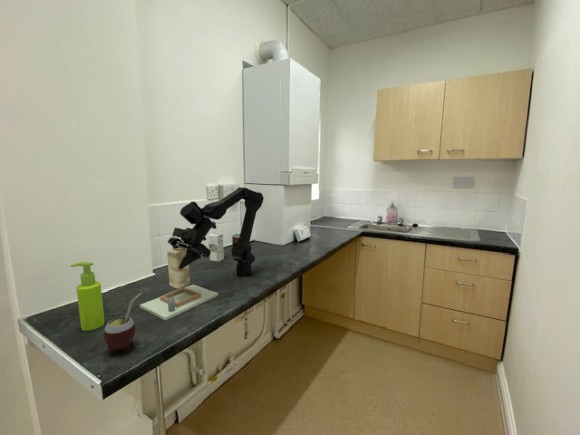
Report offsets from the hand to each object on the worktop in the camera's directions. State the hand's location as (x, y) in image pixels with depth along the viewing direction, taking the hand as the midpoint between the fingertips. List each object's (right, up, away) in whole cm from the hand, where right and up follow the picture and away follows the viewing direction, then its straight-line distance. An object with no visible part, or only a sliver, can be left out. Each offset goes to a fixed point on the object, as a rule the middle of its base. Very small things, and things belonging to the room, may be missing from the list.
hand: (175, 267), depth 98 cm
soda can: (+12, -4, +60) cm, 61 cm away
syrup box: (+1, -6, +52) cm, 52 cm away
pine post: (+1, -7, +2) cm, 7 cm away
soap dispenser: (-20, -16, -13) cm, 29 cm away
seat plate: (+1, -13, +3) cm, 13 cm away
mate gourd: (-4, -18, -24) cm, 30 cm away
